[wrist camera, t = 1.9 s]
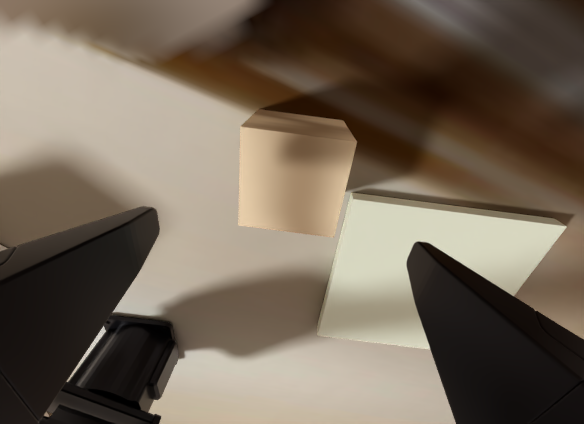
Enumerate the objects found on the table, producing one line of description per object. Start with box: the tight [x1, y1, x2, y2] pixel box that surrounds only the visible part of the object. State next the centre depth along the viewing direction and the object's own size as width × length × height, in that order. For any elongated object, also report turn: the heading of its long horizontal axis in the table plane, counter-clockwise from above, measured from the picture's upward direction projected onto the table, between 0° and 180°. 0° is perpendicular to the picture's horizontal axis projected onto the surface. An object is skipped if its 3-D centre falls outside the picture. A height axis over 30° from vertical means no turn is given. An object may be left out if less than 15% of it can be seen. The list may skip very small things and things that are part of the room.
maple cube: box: [238, 109, 357, 237], centre depth 15 cm, size 5×5×5 cm
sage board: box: [317, 193, 567, 349], centre depth 21 cm, size 14×14×1 cm
